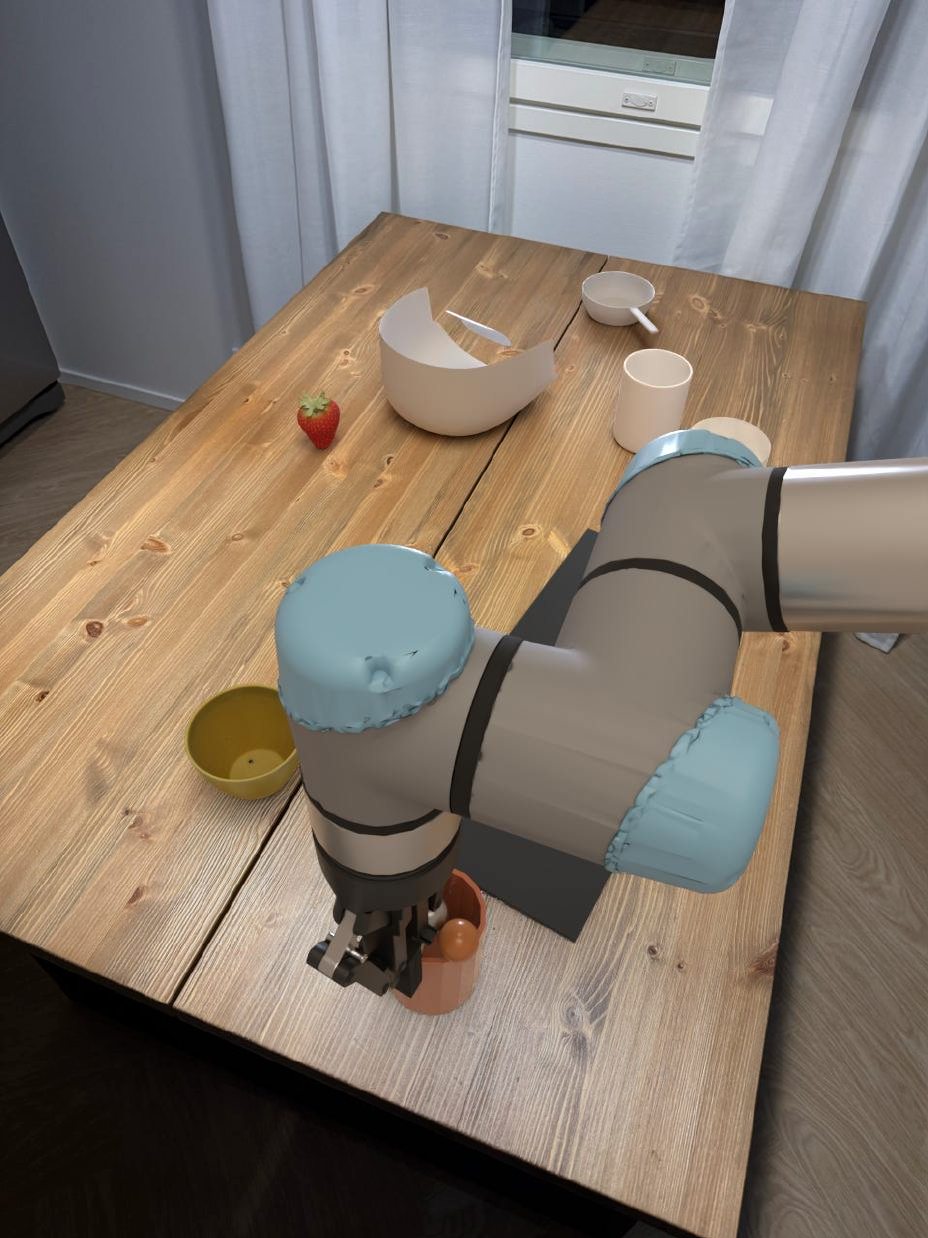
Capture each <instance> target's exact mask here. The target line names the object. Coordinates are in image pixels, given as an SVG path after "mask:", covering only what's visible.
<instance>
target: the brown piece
mask: <svg viewBox="0 0 928 1238" xmlns="http://www.w3.org/2000/svg"><path fill="white" fill-rule="evenodd" d="M438 947H439V950H440V952H441V953H442V955H443V956H444V957H445V958H446V959H448V960H449V961H451V962H455V963H462V962H466V961H468V960H470V959H471V958H472V957H473V956H474V955H475V954H476V952H477V950H478V948H479V934H478V931H477V929H476V928H475V926H474V925H473V924H472V923H471V922H469V921H467V920H465V919H460V918H457V919H452V920H450V921H448V922H447V923H445V924H444V925H443V927H442V928H441V930H440V932H439V935H438Z"/></svg>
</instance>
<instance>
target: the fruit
mask: <svg viewBox="0 0 928 1238" xmlns="http://www.w3.org/2000/svg"><path fill="white" fill-rule="evenodd" d="M302 395H303V396H304V399H305V400H302V398H300V396H298V398H297V399H298V400H297V402H298V404H299V405H300V406H299V405H298V406H297V407H298V411H297V412H296V419H297V424H298V426H299V427H300V429H301V430H302V431H303V432H304V433H305V434H306V435H307V437H308V438H309V440H310V442H311V443H312V444H313V445H314V446H315V448H317V449H321V450H323V449H327V448H329V447H330V446H331V445H332V443H333V441H334V439H335V437H336V433H337V431H338V427H339V424H340V418H341V409H340V406H339V405H338V403H336V401H334V400H333V399H332V397H329V398H328V397H325V396H326V393H325V391H324V390H323V389H321V392H320V393H319V395H317V396H315V397H311V396H310V394H308V392H307V391H305V389H304V388H303V389H302Z"/></svg>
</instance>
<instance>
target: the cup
mask: <svg viewBox="0 0 928 1238" xmlns="http://www.w3.org/2000/svg"><path fill="white" fill-rule="evenodd" d="M690 429H701V430H708V431H710V432H711V433H713V434H717V435H720V436H723V437H726V438H728V439H730V438H733V439H735V440H737V441H739V442H741V443H742V444H744V445H745V446H746V447H747V448H749V449H750V450H751V451H752V452H753V453H754V454H755V455H756V456H757V458H758V459H759V460H760V462H761V463H762V465H763V467H768V461H769V459H770V455H771V450H772V444H771V441H770V439H769V437H768V436H767V434H766V433H765V432H764V431H763V430H762V429H760V428H759V427H758V426H756V425H755V424H752V423H750V422H749V421H745V420H743V419H739V418H735V417H730V416H714V417H707V418H704V419H702V420H699V421H698V422H696V423H695V424H694V425H693V426H692V427H691V428H690Z"/></svg>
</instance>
